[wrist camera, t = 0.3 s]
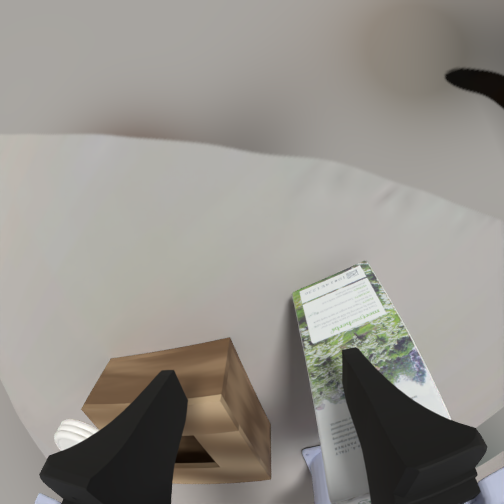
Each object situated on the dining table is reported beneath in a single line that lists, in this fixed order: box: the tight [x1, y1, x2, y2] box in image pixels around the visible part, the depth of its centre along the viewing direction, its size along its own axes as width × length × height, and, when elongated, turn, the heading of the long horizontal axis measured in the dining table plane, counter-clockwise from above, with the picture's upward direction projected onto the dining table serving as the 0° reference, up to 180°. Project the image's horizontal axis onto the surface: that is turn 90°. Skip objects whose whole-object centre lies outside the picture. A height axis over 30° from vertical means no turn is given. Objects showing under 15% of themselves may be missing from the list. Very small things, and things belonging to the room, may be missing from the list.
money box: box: [81, 338, 271, 484], centre depth 23 cm, size 12×12×7 cm
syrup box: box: [292, 261, 451, 504], centre depth 15 cm, size 6×6×14 cm
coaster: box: [54, 419, 99, 451], centre depth 30 cm, size 10×10×4 cm
